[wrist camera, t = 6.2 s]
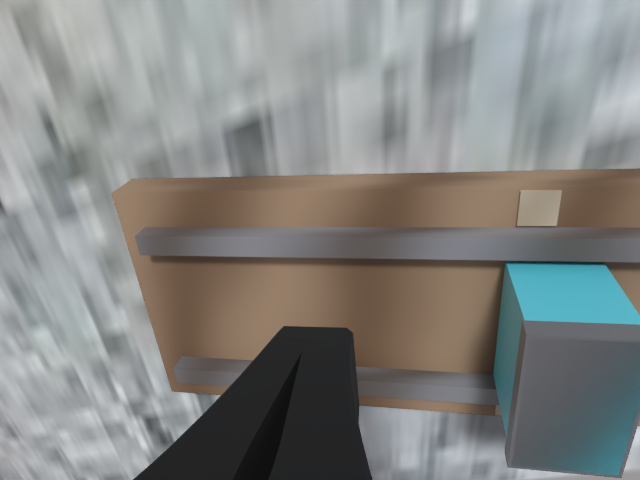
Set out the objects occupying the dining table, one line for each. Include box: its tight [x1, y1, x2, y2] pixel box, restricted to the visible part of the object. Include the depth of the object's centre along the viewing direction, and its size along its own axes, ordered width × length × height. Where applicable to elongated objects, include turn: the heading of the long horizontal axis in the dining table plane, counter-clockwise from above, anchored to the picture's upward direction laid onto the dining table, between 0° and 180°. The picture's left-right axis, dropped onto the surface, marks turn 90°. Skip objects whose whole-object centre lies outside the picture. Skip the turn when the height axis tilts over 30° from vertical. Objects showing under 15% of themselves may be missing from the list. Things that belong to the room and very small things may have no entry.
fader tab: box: [493, 261, 640, 478], centre depth 15 cm, size 3×5×4 cm, turn 5°
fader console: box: [112, 169, 640, 426], centre depth 18 cm, size 20×10×2 cm, turn 95°
